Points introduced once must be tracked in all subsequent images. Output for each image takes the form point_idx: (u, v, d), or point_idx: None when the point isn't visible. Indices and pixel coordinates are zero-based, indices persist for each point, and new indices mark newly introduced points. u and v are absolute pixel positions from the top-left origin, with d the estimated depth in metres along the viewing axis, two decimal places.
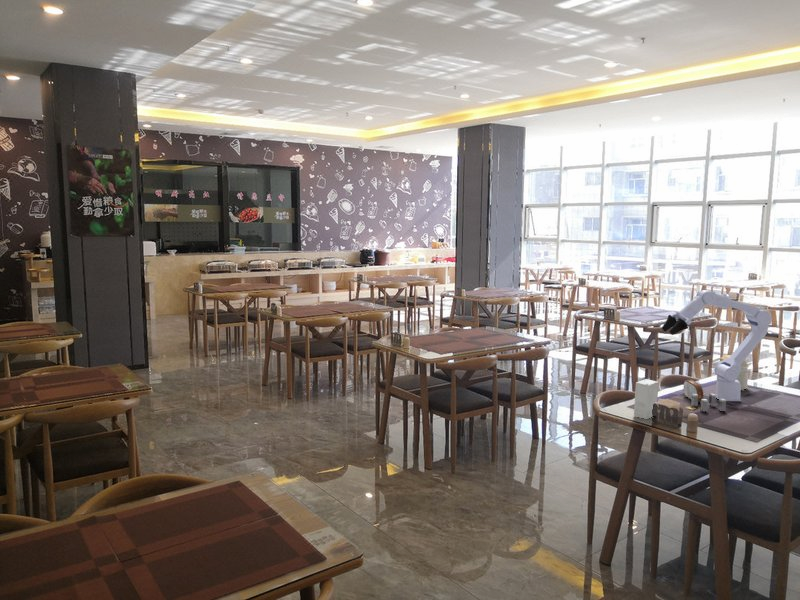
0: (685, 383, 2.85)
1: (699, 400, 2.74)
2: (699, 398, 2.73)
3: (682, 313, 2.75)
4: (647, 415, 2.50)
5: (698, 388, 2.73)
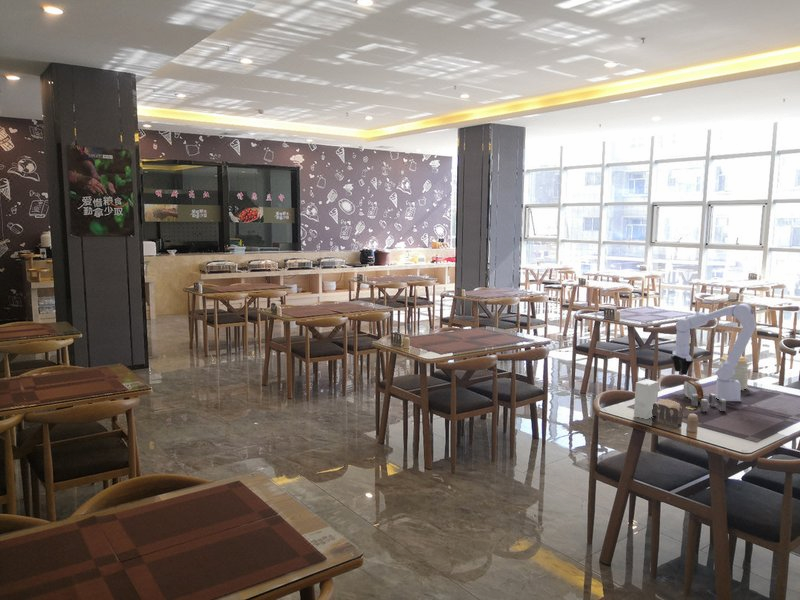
0: (685, 383, 2.85)
1: (699, 400, 2.74)
2: (699, 398, 2.73)
3: (678, 352, 2.88)
4: (647, 415, 2.50)
5: (698, 388, 2.73)
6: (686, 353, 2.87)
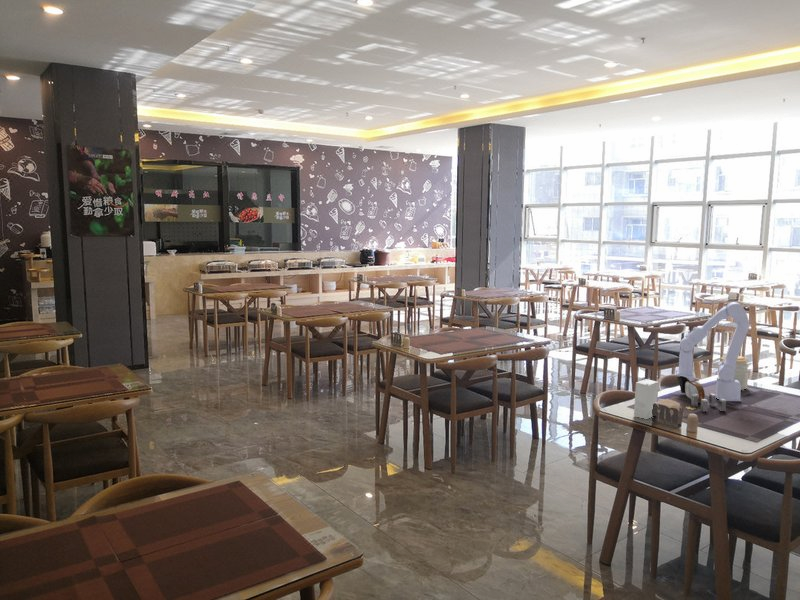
0: (686, 384, 2.83)
1: (700, 401, 2.72)
2: (700, 399, 2.72)
3: (682, 372, 2.85)
4: (647, 415, 2.50)
5: (699, 389, 2.72)
6: (689, 373, 2.84)
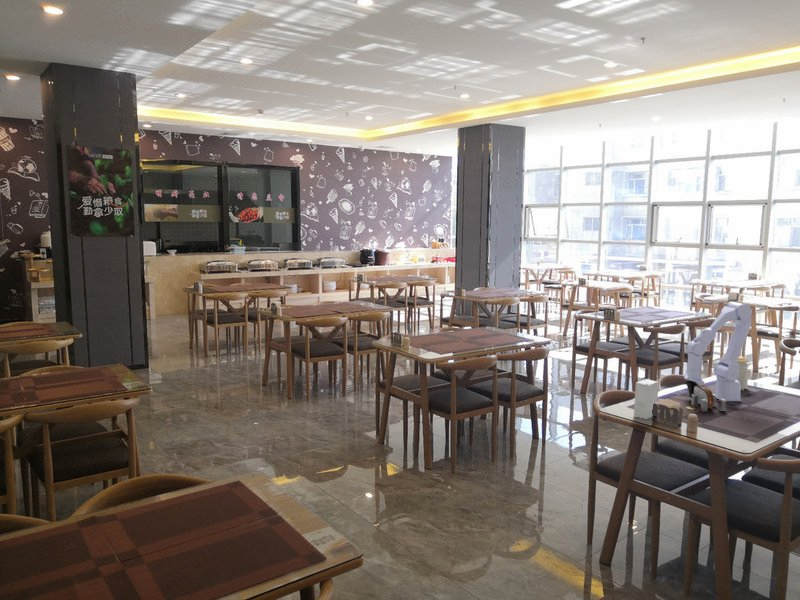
0: (695, 388, 2.75)
1: (709, 406, 2.64)
2: (709, 404, 2.64)
3: (690, 376, 2.77)
4: (647, 415, 2.50)
5: (708, 394, 2.64)
6: (698, 377, 2.76)
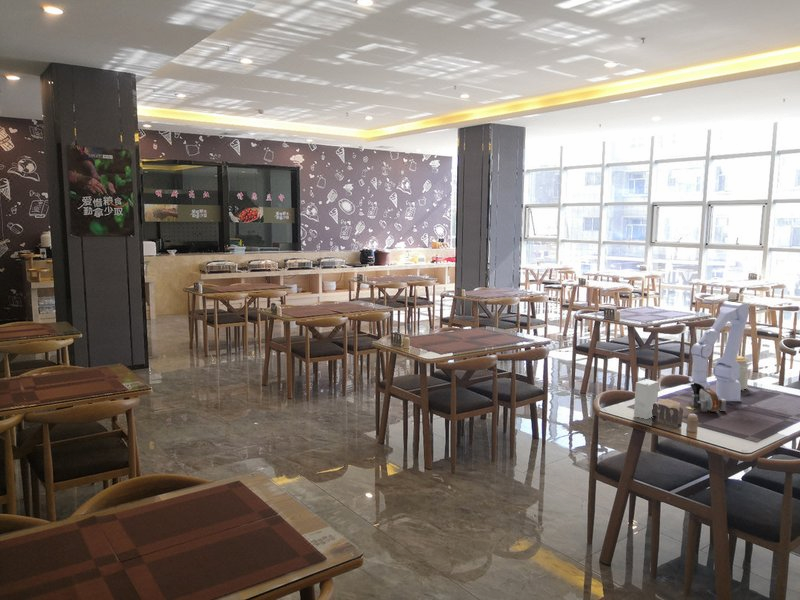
0: (701, 391, 2.70)
1: (714, 409, 2.60)
2: (714, 407, 2.59)
3: (696, 379, 2.72)
4: (647, 415, 2.50)
5: (713, 397, 2.59)
6: (704, 380, 2.71)
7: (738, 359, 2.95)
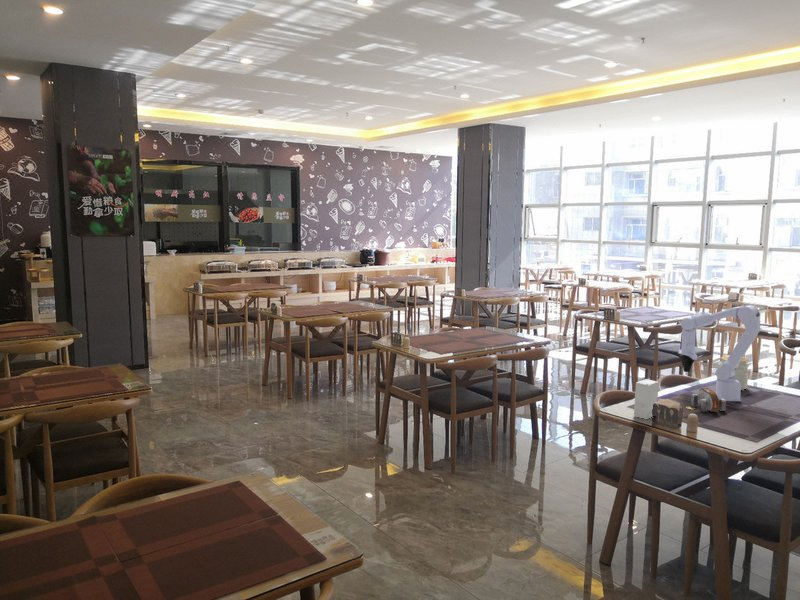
0: (701, 391, 2.70)
1: (714, 410, 2.60)
2: (714, 407, 2.59)
3: (684, 351, 2.89)
4: (647, 415, 2.50)
5: (713, 397, 2.59)
6: (692, 352, 2.88)
7: None
